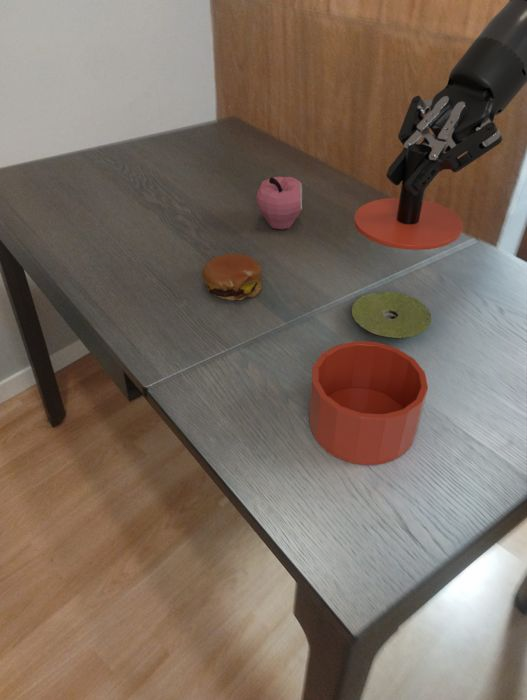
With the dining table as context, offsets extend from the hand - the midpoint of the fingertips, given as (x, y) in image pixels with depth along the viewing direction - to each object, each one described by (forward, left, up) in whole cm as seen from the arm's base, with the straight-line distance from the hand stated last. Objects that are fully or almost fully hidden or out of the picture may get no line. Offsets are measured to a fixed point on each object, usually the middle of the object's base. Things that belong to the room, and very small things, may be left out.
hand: (400, 185), depth 64 cm
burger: (+22, -9, -22) cm, 32 cm away
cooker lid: (-2, -1, -6) cm, 6 cm away
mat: (-2, -1, -22) cm, 22 cm away
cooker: (+3, +19, -21) cm, 29 cm away
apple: (+16, -31, -22) cm, 41 cm away
